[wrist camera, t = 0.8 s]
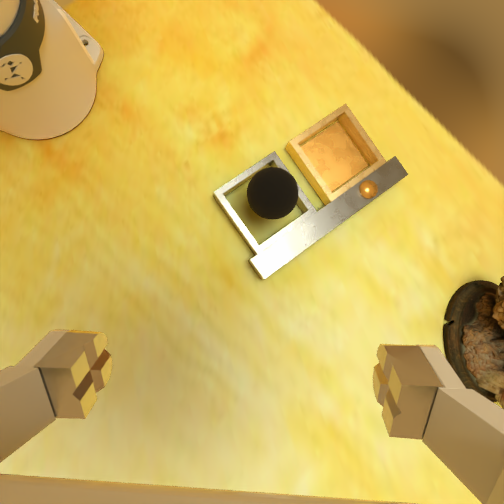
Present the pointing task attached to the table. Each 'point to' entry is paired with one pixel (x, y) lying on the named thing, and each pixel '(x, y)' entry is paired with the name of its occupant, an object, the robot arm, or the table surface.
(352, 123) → the rail
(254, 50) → the table surface
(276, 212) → the light bulb
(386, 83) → the table surface
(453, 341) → the carved stone statue
